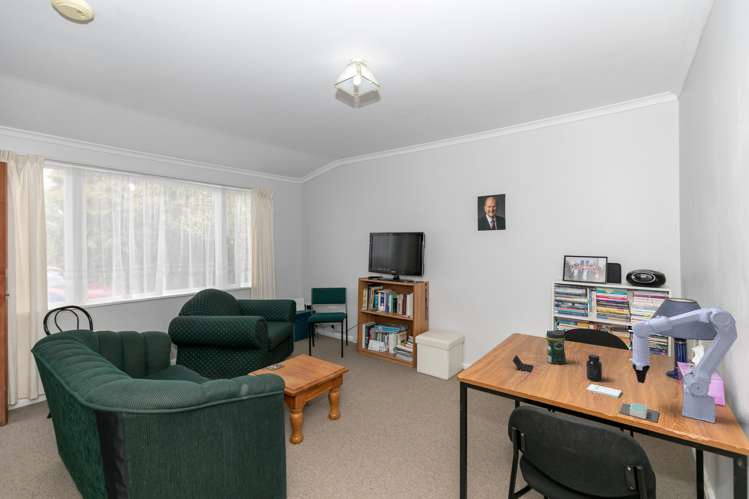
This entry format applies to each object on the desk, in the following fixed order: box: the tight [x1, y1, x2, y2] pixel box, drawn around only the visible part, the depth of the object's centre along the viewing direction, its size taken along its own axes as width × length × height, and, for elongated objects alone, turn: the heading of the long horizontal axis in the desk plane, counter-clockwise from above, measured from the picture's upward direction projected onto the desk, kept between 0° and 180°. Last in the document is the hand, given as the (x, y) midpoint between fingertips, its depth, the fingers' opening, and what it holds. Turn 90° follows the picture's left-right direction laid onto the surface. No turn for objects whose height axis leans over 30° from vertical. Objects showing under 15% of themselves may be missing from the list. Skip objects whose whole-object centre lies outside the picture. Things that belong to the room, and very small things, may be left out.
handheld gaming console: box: [512, 355, 534, 373], centre depth 198 cm, size 12×7×10 cm
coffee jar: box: [545, 330, 567, 365], centre depth 205 cm, size 10×8×19 cm
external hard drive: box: [586, 383, 623, 399], centre depth 165 cm, size 2×8×12 cm
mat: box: [618, 402, 660, 423], centre depth 144 cm, size 12×11×1 cm
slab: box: [630, 402, 648, 420], centre depth 142 cm, size 5×3×7 cm
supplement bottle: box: [585, 354, 603, 382], centre depth 180 cm, size 7×7×12 cm
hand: (641, 382), depth 150 cm, fingers closed
